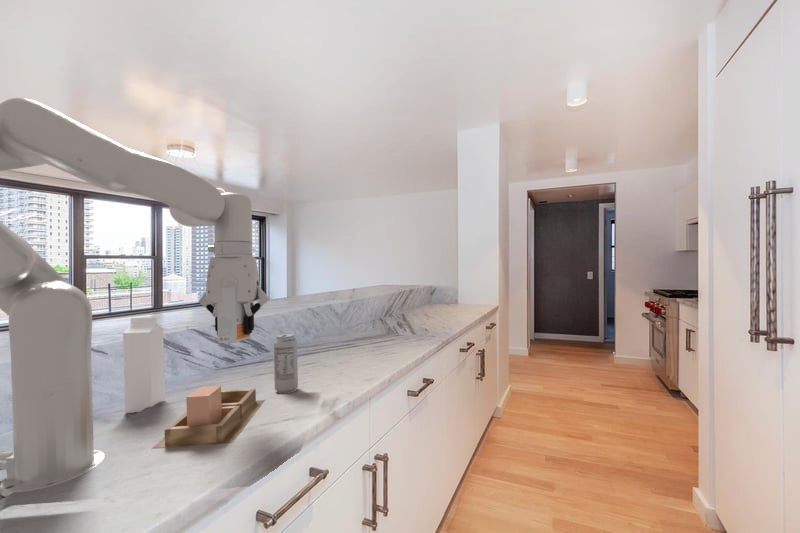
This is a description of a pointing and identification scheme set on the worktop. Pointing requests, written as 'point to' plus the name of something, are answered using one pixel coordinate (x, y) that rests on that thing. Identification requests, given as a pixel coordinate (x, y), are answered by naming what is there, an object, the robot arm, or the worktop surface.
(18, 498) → the worktop surface
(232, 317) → the skincare box
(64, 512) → the worktop surface
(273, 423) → the worktop surface
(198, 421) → the terracotta block
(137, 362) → the milk
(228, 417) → the socket board
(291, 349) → the energy drink can
